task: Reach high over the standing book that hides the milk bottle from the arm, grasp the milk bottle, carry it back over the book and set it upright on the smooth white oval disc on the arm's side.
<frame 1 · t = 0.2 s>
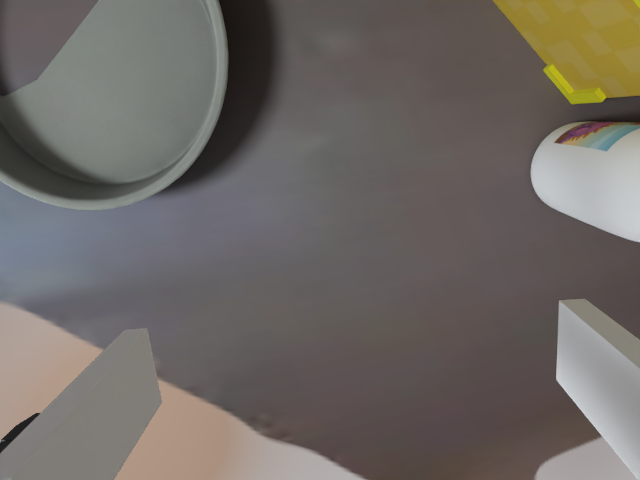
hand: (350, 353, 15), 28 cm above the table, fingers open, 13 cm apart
cake pan: (98, 60, 41), on the table
milk bottle: (572, 166, 41), on the table
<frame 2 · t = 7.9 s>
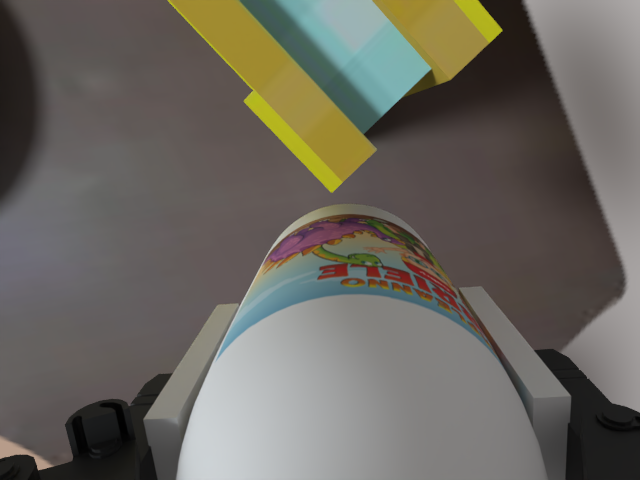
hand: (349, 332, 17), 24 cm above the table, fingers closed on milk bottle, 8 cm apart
milk bottle: (348, 284, 21), point 19 cm above the table, touching gripper
book: (295, 38, 37), on the table
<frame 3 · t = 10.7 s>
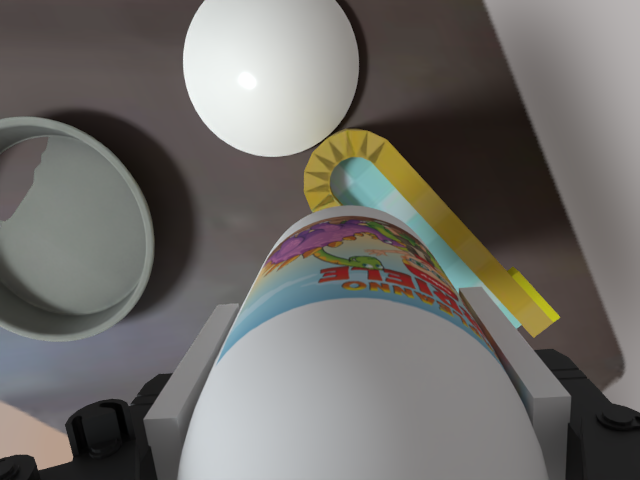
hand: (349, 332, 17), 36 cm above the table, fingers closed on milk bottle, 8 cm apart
cake pan: (64, 226, 55), on the table
milk bottle: (349, 285, 21), point 31 cm above the table, touching gripper
book: (385, 193, 52), on the table
smooth white oval disc: (271, 68, 49), on the table
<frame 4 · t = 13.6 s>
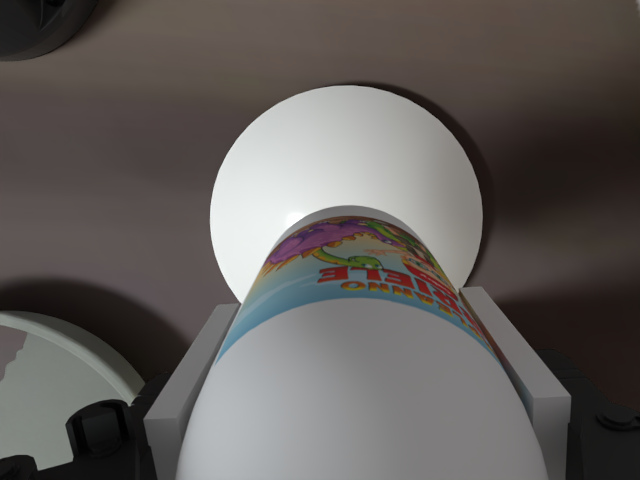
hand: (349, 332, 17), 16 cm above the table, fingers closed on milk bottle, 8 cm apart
cake pan: (37, 429, 38), on the table
milk bottle: (348, 285, 21), point 12 cm above the table, touching gripper
smooth white oval disc: (344, 224, 32), on the table
when the fingers open (7 cm above the table, at t = 16.2 s): milk bottle drops 1 cm, resting on smooth white oval disc.
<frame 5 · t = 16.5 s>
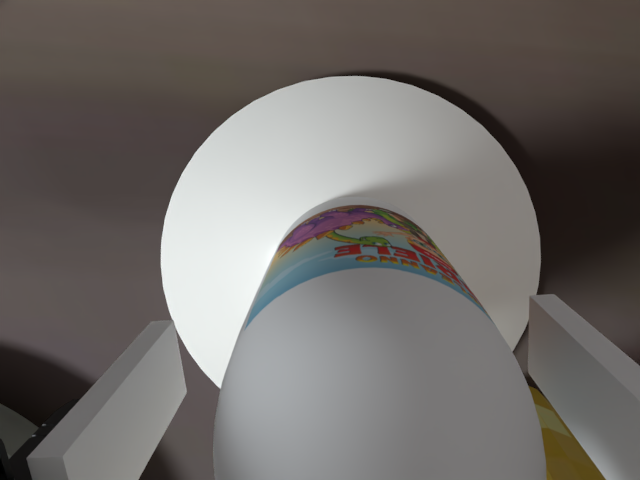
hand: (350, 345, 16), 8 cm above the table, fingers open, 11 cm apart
milk bottle: (353, 272, 23), point 1 cm above the table, touching smooth white oval disc
smooth white oval disc: (347, 268, 24), on the table
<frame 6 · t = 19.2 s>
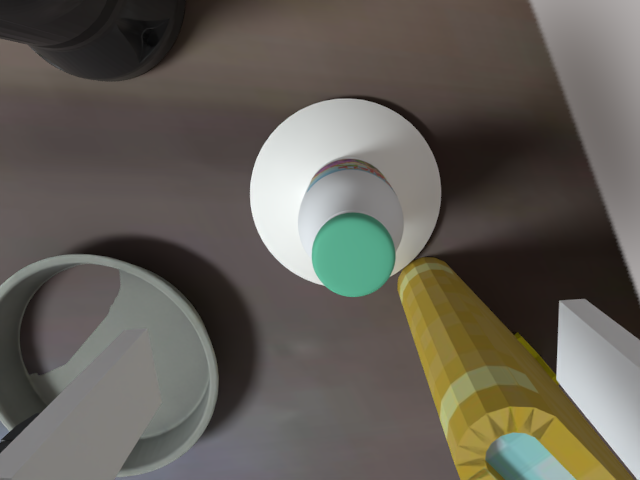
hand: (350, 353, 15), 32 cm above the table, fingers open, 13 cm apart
cake pan: (116, 351, 52), on the table
milk bottle: (348, 197, 45), point 1 cm above the table, touching smooth white oval disc
book: (462, 321, 49), on the table
smooth white oval disc: (344, 196, 46), on the table
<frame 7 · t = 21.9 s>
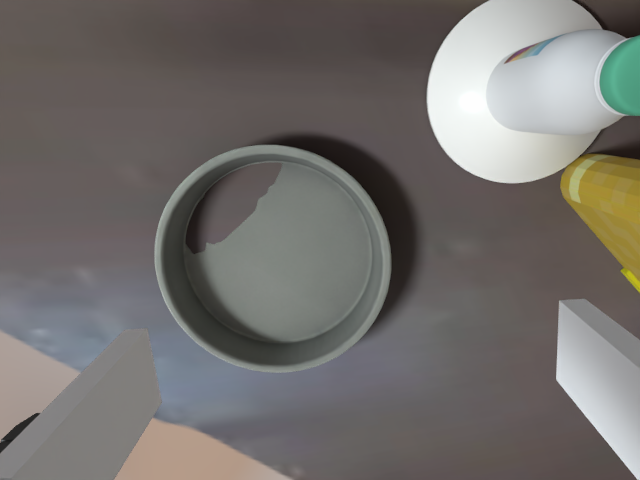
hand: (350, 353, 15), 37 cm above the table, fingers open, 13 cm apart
cake pan: (277, 253, 53), on the table
milk bottle: (523, 91, 47), point 1 cm above the table, touching smooth white oval disc
book: (620, 219, 51), on the table
smooth white oval disc: (516, 92, 48), on the table
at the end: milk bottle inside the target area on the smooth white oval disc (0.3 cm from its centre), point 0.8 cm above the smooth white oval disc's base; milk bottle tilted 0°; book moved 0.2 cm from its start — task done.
